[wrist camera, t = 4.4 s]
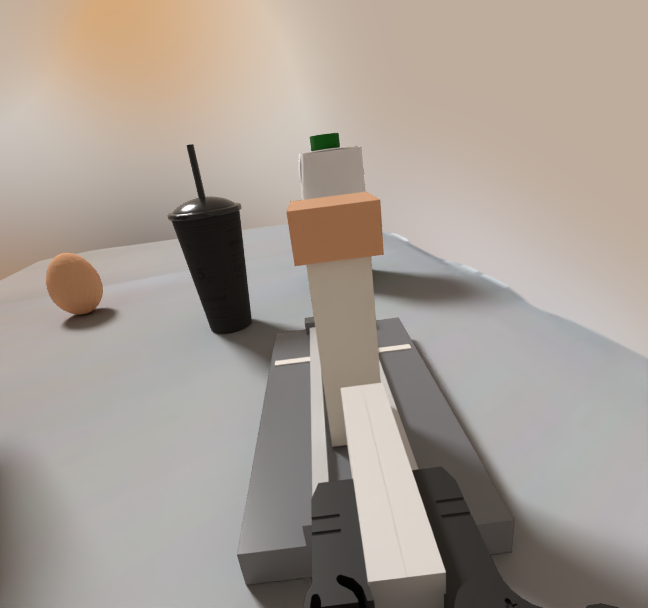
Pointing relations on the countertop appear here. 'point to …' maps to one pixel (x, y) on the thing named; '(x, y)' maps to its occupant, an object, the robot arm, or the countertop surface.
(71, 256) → the egg
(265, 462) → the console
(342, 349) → the fader
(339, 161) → the milk carton
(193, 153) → the drinking cup
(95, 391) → the countertop surface
